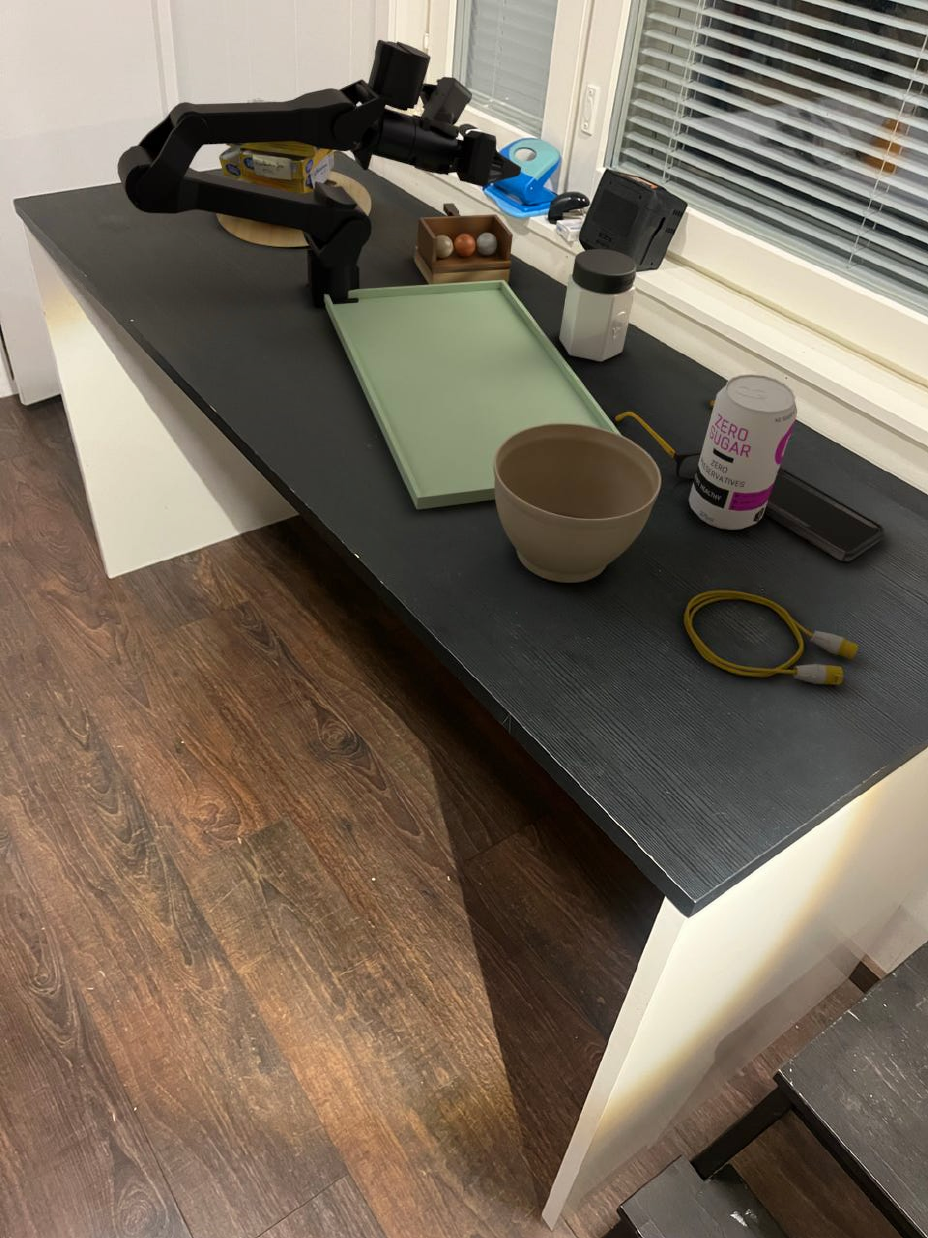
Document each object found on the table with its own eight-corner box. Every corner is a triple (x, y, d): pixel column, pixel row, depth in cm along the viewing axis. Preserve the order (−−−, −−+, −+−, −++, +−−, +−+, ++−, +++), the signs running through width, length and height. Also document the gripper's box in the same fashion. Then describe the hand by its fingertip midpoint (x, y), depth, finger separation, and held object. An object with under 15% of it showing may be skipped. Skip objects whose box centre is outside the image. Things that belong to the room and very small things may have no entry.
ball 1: (434, 262, 140) (435, 240, 138) (428, 253, 142) (429, 231, 140) (455, 260, 141) (456, 239, 139) (448, 252, 143) (450, 230, 141)
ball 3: (479, 259, 142) (481, 238, 140) (472, 251, 144) (474, 229, 142) (499, 258, 143) (501, 237, 141) (492, 249, 145) (494, 228, 143)
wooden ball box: (432, 274, 139) (434, 239, 135) (408, 237, 148) (409, 204, 144) (510, 269, 142) (514, 235, 139) (482, 233, 151) (485, 201, 147)
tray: (416, 509, 102) (417, 497, 101) (323, 301, 135) (322, 291, 134) (644, 480, 109) (647, 468, 108) (502, 289, 142) (503, 279, 141)
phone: (776, 464, 112) (888, 529, 104) (773, 472, 112) (884, 537, 105) (735, 487, 108) (849, 556, 100) (732, 495, 108) (845, 564, 101)
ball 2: (456, 260, 141) (458, 239, 139) (450, 252, 143) (451, 230, 141) (477, 259, 142) (479, 238, 140) (470, 251, 144) (472, 229, 142)
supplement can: (765, 497, 108) (804, 381, 97) (756, 541, 103) (797, 422, 92) (694, 480, 110) (725, 364, 99) (682, 522, 104) (713, 404, 94)
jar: (591, 368, 127) (608, 281, 119) (547, 343, 131) (560, 258, 123) (633, 348, 132) (652, 264, 124) (589, 325, 136) (604, 242, 128)
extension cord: (794, 726, 84) (802, 712, 82) (657, 626, 92) (662, 611, 90) (866, 665, 90) (874, 650, 89) (733, 576, 98) (738, 562, 97)
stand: (432, 289, 140) (433, 273, 139) (414, 260, 147) (414, 245, 146) (508, 284, 144) (509, 269, 142) (487, 256, 150) (488, 241, 149)
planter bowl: (598, 497, 106) (617, 413, 99) (665, 593, 95) (691, 506, 88) (462, 517, 102) (471, 430, 94) (516, 619, 91) (530, 530, 83)
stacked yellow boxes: (308, 262, 144) (304, 145, 132) (184, 218, 152) (170, 104, 140) (399, 215, 160) (402, 107, 148) (282, 177, 168) (277, 72, 156)
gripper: (451, 73, 115) (554, 109, 123) (389, 68, 129) (486, 100, 137) (430, 172, 120) (531, 200, 128) (373, 156, 134) (467, 182, 142)
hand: (503, 167), depth 134 cm, fingers open, 9 cm apart
